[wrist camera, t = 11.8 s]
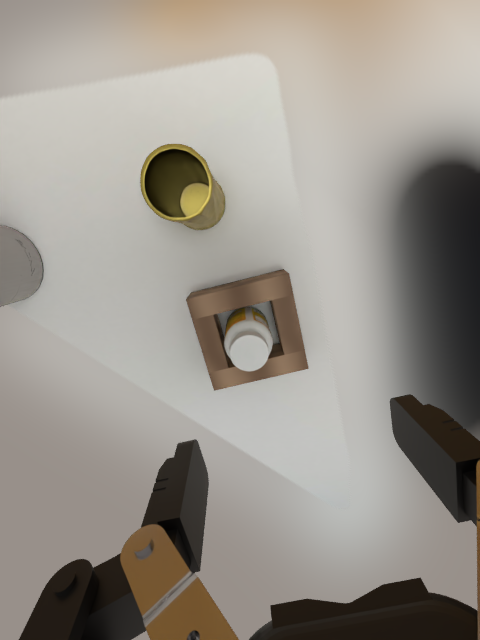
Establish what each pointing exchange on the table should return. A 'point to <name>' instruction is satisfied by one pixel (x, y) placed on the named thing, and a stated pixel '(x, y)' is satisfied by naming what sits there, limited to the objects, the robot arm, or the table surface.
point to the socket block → (239, 295)
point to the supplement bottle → (248, 339)
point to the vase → (182, 187)
